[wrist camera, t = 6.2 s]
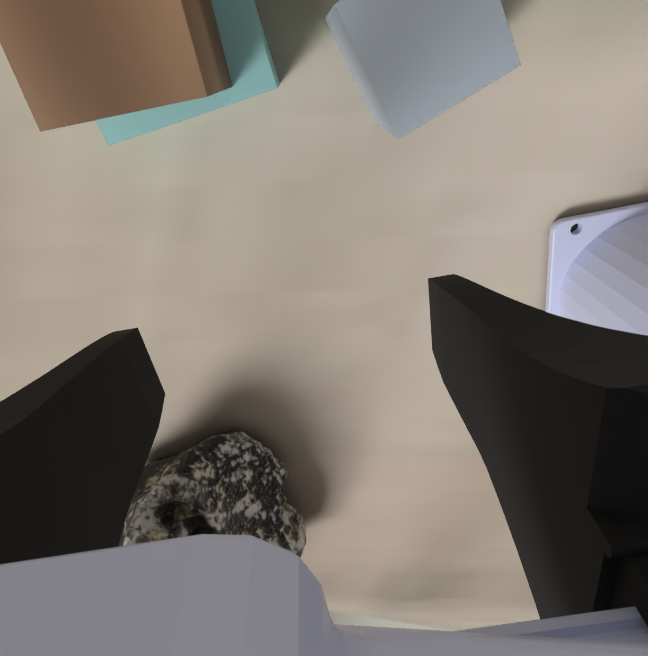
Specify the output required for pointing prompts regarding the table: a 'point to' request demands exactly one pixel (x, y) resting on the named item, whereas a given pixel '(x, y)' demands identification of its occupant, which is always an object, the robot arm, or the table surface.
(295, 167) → the table surface
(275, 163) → the table surface
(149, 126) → the teal slab
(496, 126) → the table surface
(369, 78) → the bluegrey block
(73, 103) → the walnut block
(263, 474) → the rock
